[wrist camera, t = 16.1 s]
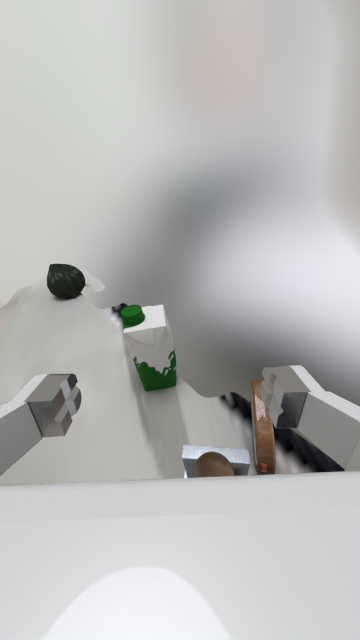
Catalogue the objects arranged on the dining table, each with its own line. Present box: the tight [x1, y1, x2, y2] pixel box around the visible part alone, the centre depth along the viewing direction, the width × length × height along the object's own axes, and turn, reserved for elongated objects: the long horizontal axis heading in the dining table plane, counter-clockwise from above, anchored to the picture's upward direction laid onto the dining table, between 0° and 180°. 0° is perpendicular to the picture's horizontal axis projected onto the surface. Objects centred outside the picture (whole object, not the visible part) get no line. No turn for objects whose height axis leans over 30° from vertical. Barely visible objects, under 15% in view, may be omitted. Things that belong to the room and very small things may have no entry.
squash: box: [47, 264, 85, 298], centre depth 91 cm, size 14×15×15 cm
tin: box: [251, 380, 276, 474], centre depth 36 cm, size 15×3×8 cm, turn 168°
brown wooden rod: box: [193, 451, 235, 478], centre depth 21 cm, size 3×3×18 cm
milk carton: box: [121, 305, 176, 391], centre depth 46 cm, size 9×9×20 cm
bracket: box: [182, 445, 250, 478], centre depth 26 cm, size 12×10×12 cm
